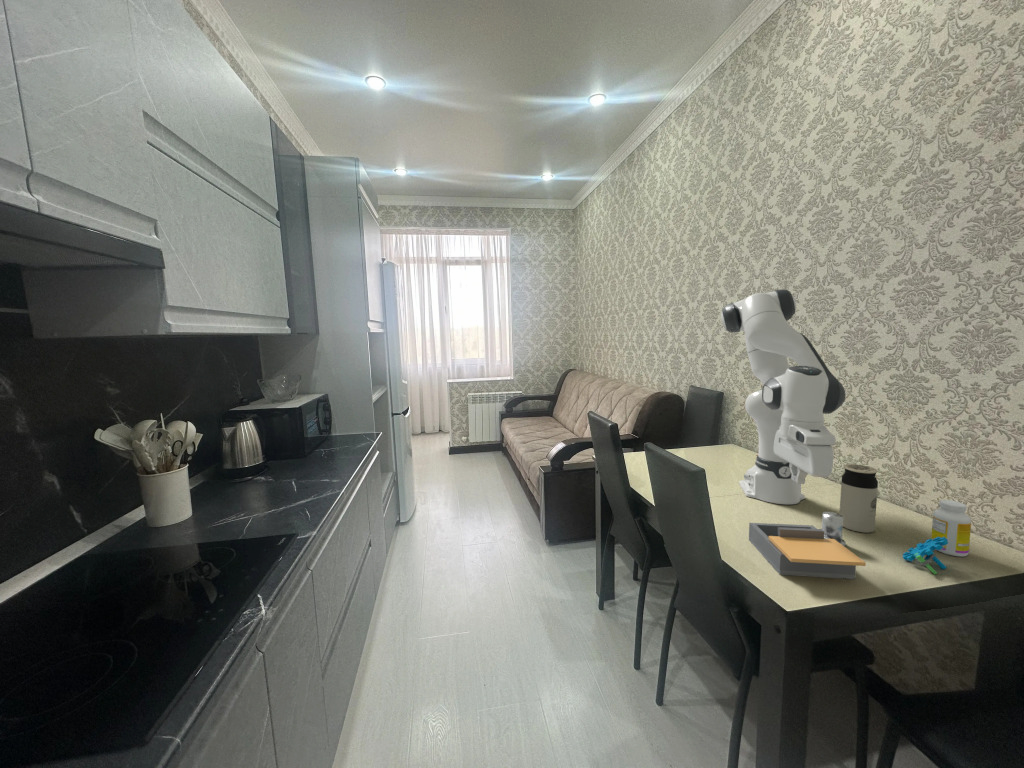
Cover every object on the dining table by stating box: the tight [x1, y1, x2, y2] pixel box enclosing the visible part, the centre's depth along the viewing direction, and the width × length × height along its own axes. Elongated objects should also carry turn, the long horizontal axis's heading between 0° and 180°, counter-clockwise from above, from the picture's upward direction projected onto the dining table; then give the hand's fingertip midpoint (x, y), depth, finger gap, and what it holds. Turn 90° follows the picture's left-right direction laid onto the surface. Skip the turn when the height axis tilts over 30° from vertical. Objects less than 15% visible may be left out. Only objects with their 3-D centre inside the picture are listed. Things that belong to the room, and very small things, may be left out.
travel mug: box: [839, 463, 879, 534], centre depth 116 cm, size 8×8×18 cm
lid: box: [768, 527, 867, 567], centre depth 95 cm, size 12×15×3 cm
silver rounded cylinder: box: [821, 511, 847, 547], centre depth 108 cm, size 6×6×8 cm
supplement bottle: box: [930, 499, 972, 557], centre depth 103 cm, size 7×7×13 cm
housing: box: [748, 522, 857, 580], centre depth 101 cm, size 17×16×5 cm
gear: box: [902, 537, 948, 575], centre depth 96 cm, size 11×6×10 cm
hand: (797, 482), depth 103 cm, fingers closed
